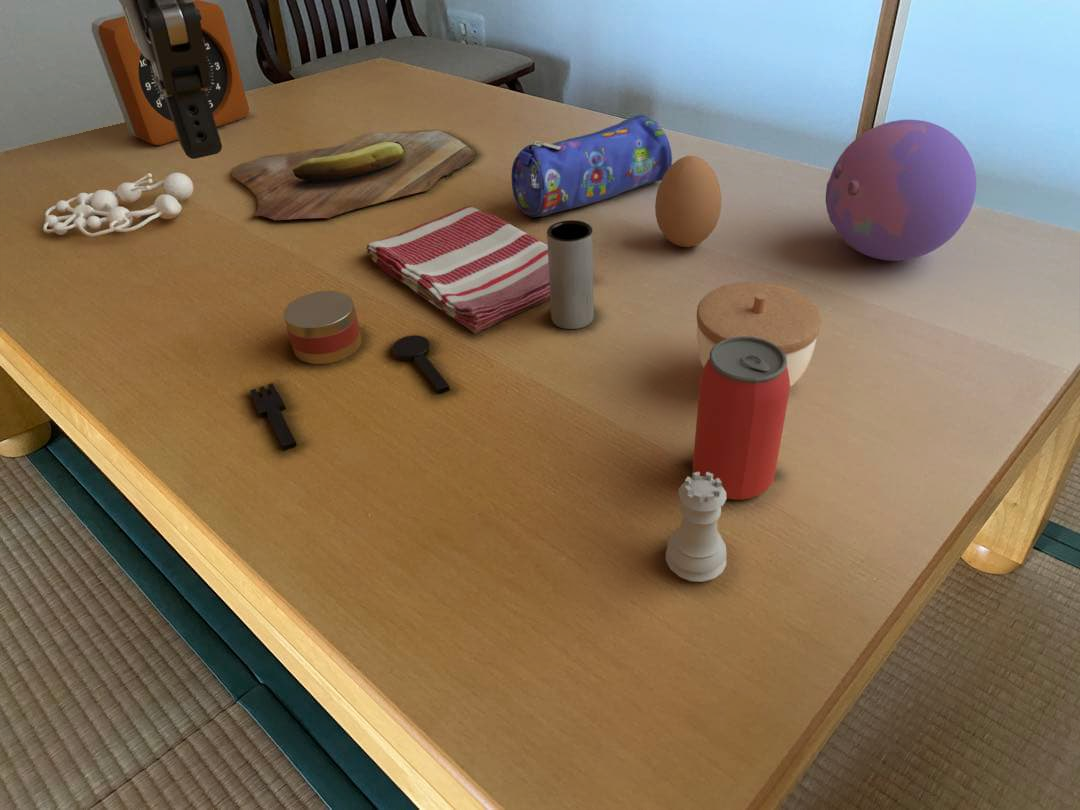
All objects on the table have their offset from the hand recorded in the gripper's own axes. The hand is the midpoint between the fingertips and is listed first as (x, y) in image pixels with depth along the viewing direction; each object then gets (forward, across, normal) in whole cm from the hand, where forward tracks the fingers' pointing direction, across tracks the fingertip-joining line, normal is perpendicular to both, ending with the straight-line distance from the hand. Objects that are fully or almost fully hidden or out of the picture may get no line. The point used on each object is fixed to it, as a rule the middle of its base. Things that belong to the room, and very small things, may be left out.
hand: (203, 152), depth 51 cm
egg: (+29, -17, +52) cm, 62 cm away
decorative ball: (+29, -2, +69) cm, 75 cm away
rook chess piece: (+29, +23, +22) cm, 44 cm away
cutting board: (+29, -62, +26) cm, 73 cm away
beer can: (+29, +18, +31) cm, 46 cm away
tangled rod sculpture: (+29, -65, -6) cm, 72 cm away
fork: (+29, -11, 0) cm, 31 cm away
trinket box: (+29, +8, +40) cm, 50 cm away
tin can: (+29, -20, +8) cm, 36 cm away
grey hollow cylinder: (+29, -10, +32) cm, 44 cm away
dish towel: (+29, -26, +28) cm, 48 cm away
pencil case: (+29, -34, +49) cm, 67 cm away
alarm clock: (+29, -98, +9) cm, 103 cm away
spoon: (+29, -11, +15) cm, 34 cm away
